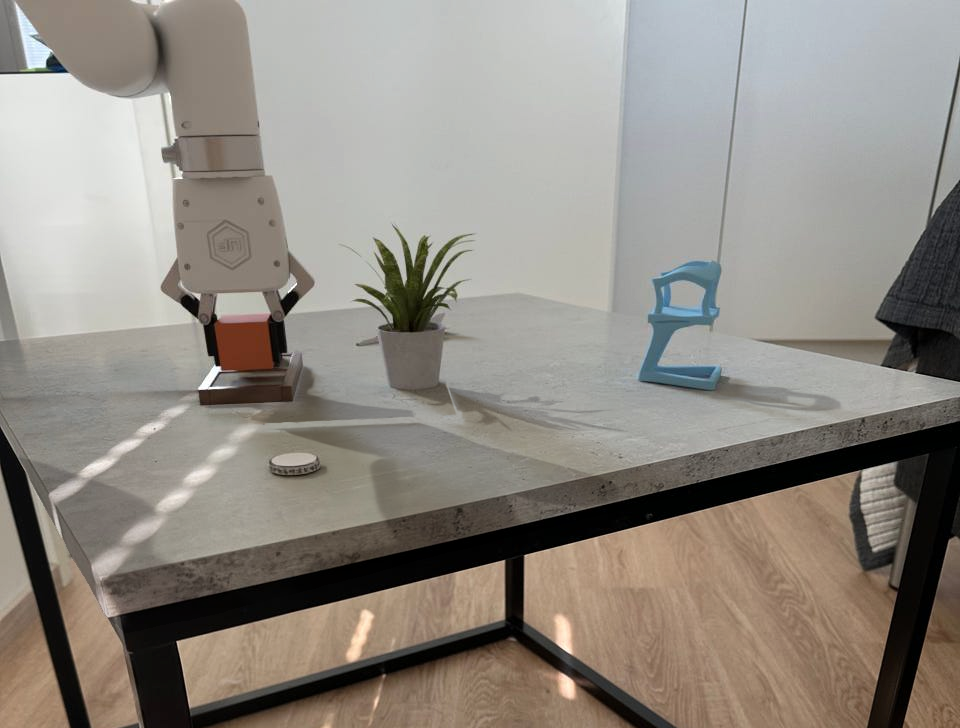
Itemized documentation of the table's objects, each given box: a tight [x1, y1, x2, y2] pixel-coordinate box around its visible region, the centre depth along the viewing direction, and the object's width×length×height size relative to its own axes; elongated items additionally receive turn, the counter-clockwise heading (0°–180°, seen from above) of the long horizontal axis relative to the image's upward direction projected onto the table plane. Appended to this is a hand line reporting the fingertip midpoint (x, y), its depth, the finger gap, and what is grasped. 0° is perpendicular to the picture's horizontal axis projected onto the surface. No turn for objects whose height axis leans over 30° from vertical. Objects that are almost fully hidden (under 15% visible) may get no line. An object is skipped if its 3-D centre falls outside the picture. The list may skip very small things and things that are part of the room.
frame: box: [197, 351, 304, 407], centre depth 98 cm, size 9×17×2 cm, turn 6°
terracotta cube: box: [214, 313, 275, 371], centre depth 92 cm, size 5×5×4 cm
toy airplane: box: [355, 312, 457, 347], centre depth 123 cm, size 8×21×2 cm, turn 140°
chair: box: [637, 259, 723, 391], centre depth 96 cm, size 8×8×12 cm
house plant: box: [339, 222, 478, 391], centre depth 93 cm, size 14×14×16 cm
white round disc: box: [268, 452, 321, 476], centre depth 73 cm, size 4×4×1 cm
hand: (249, 360), depth 93 cm, fingers closed on terracotta cube, 5 cm apart
